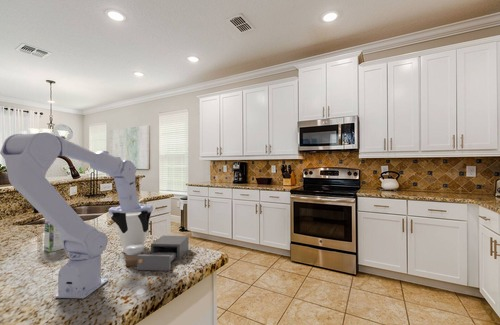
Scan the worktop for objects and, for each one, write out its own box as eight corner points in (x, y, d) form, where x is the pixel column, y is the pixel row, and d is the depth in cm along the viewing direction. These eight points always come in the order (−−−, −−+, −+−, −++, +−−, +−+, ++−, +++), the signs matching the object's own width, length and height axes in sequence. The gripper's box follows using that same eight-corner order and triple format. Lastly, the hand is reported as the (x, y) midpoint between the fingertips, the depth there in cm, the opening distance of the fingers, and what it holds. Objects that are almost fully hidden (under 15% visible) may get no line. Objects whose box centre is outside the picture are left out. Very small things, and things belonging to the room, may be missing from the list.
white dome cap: (138, 255, 77) (138, 249, 77) (122, 254, 78) (122, 249, 78) (146, 249, 83) (146, 244, 83) (131, 248, 83) (131, 243, 83)
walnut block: (137, 266, 78) (137, 254, 78) (125, 265, 78) (125, 254, 78) (143, 261, 82) (143, 249, 82) (132, 261, 82) (132, 249, 82)
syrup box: (43, 250, 93) (43, 213, 93) (60, 245, 98) (61, 211, 99) (50, 252, 90) (50, 215, 91) (67, 247, 96) (68, 212, 96)
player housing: (179, 259, 83) (179, 244, 83) (150, 259, 84) (150, 243, 84) (188, 249, 93) (188, 235, 93) (162, 249, 94) (162, 235, 94)
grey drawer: (168, 271, 74) (168, 256, 74) (136, 270, 74) (136, 256, 74) (180, 257, 85) (180, 245, 85) (152, 257, 85) (152, 244, 85)
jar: (135, 255, 87) (135, 215, 88) (112, 253, 89) (112, 214, 90) (152, 246, 98) (153, 210, 98) (131, 244, 100) (131, 209, 100)
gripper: (153, 189, 82) (160, 224, 85) (114, 192, 83) (122, 226, 86) (144, 197, 75) (151, 234, 78) (101, 199, 76) (110, 237, 79)
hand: (135, 231), depth 82 cm, fingers open, 7 cm apart
